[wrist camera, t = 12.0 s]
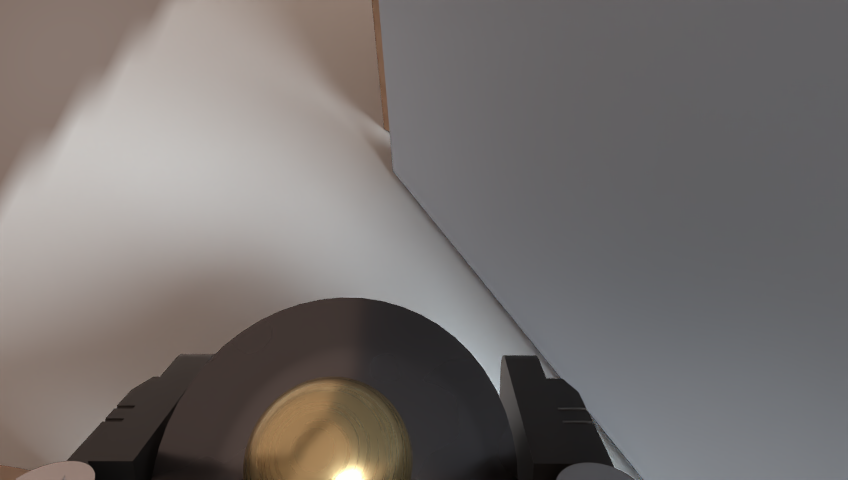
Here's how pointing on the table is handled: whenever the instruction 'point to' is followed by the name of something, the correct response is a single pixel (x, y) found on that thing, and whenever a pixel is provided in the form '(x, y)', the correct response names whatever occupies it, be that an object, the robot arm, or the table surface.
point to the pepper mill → (340, 403)
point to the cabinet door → (649, 209)
